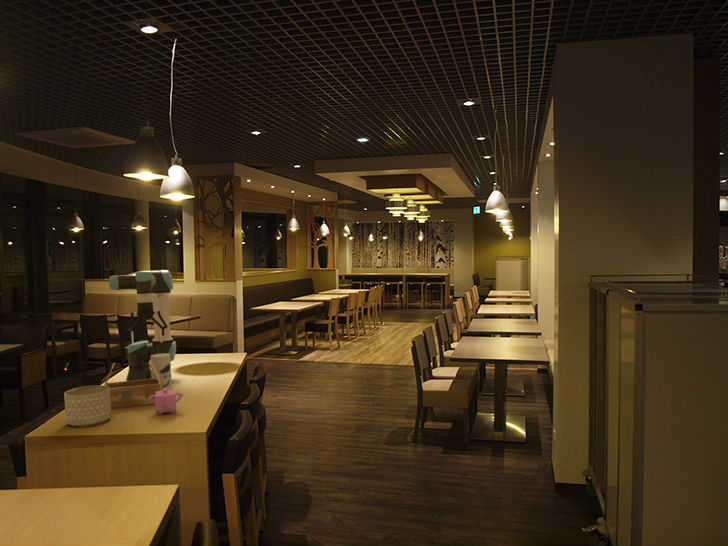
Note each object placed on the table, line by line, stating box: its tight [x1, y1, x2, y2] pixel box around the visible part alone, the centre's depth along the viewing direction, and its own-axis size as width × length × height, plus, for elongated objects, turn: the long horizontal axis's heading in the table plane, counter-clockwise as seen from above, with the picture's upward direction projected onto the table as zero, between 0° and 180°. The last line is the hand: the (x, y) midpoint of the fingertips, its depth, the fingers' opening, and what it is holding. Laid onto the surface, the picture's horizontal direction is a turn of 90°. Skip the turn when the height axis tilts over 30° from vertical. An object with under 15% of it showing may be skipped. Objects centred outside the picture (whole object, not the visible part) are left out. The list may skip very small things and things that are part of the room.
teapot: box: [148, 388, 184, 416], centre depth 272 cm, size 15×13×11 cm
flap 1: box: [103, 362, 116, 386], centre depth 287 cm, size 12×1×10 cm, turn 18°
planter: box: [63, 384, 112, 427], centre depth 261 cm, size 19×19×14 cm
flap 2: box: [149, 359, 160, 381], centre depth 293 cm, size 12×1×10 cm, turn 18°
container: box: [150, 353, 173, 391], centre depth 312 cm, size 10×10×20 cm
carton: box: [105, 378, 161, 410], centre depth 290 cm, size 16×26×10 cm, turn 108°
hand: (147, 343), depth 293 cm, fingers open, 13 cm apart
